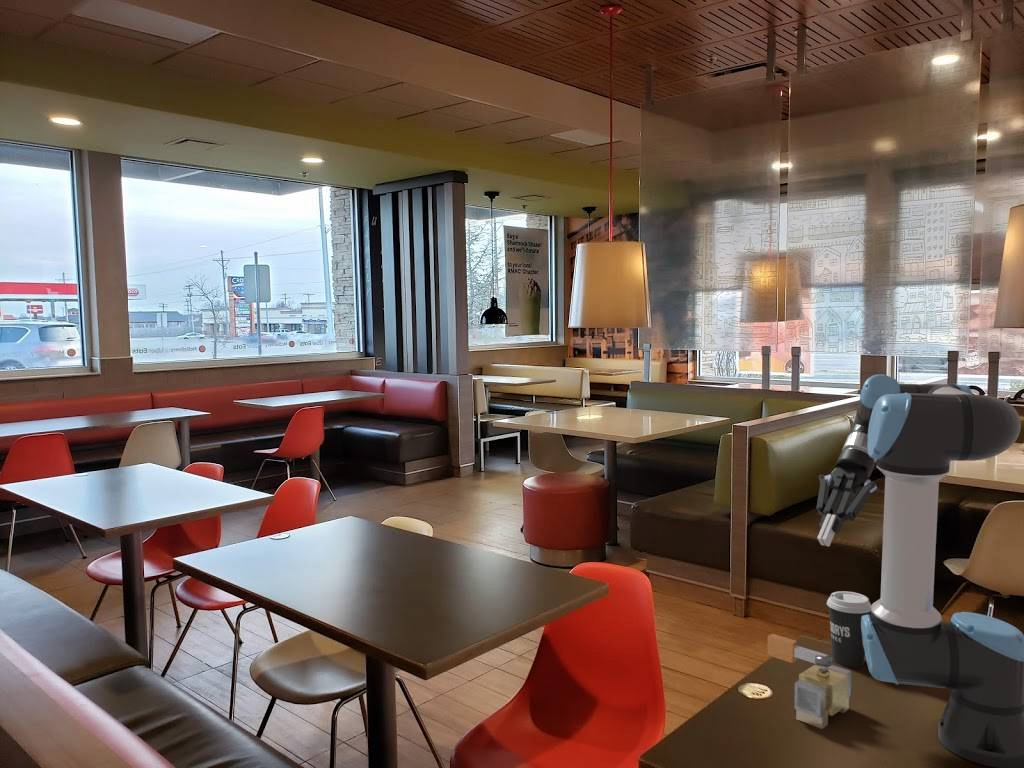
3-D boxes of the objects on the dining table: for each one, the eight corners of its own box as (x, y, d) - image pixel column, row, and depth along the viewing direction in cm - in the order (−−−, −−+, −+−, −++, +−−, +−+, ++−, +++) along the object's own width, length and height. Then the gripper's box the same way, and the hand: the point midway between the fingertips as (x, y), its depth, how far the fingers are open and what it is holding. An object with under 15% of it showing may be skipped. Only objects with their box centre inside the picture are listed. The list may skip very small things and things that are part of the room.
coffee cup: (833, 649, 185) (834, 587, 184) (876, 659, 179) (877, 595, 178) (820, 662, 178) (821, 598, 177) (864, 673, 172) (865, 607, 171)
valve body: (821, 697, 161) (822, 657, 160) (854, 709, 156) (855, 667, 155) (790, 719, 152) (790, 676, 151) (824, 732, 147) (824, 687, 146)
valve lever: (835, 670, 153) (835, 651, 153) (827, 675, 151) (827, 655, 151) (773, 651, 163) (774, 632, 162) (765, 655, 161) (766, 636, 160)
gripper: (893, 470, 175) (859, 558, 165) (834, 463, 185) (799, 546, 175) (883, 450, 171) (848, 538, 161) (824, 444, 181) (788, 527, 171)
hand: (823, 542), depth 168 cm, fingers closed
